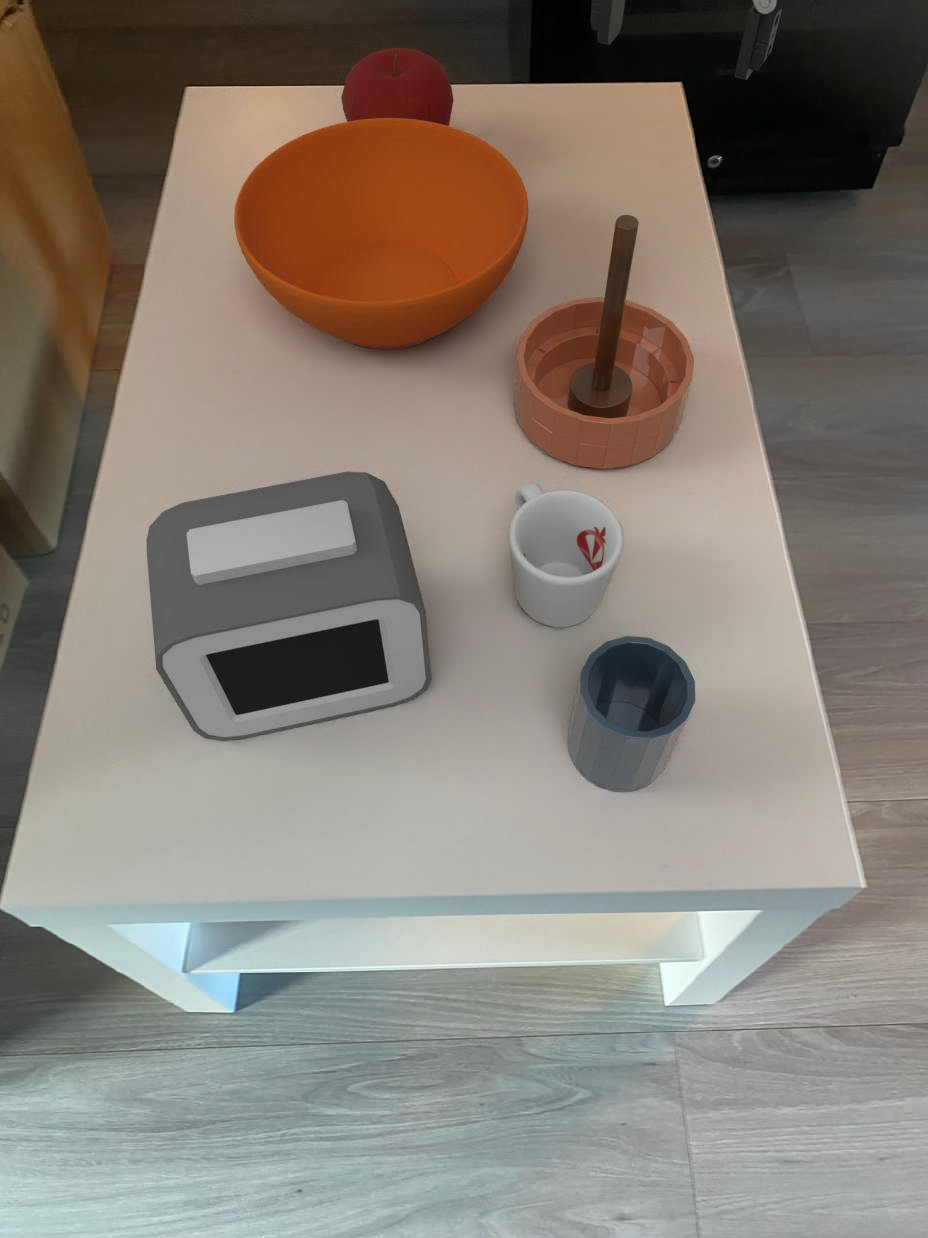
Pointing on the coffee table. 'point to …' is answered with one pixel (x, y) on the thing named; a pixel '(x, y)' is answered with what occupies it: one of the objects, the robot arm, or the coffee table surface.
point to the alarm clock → (286, 606)
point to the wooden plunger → (608, 337)
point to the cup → (562, 553)
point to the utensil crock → (629, 712)
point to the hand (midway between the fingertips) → (675, 54)
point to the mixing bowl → (571, 342)
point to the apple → (398, 87)
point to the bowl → (382, 228)
